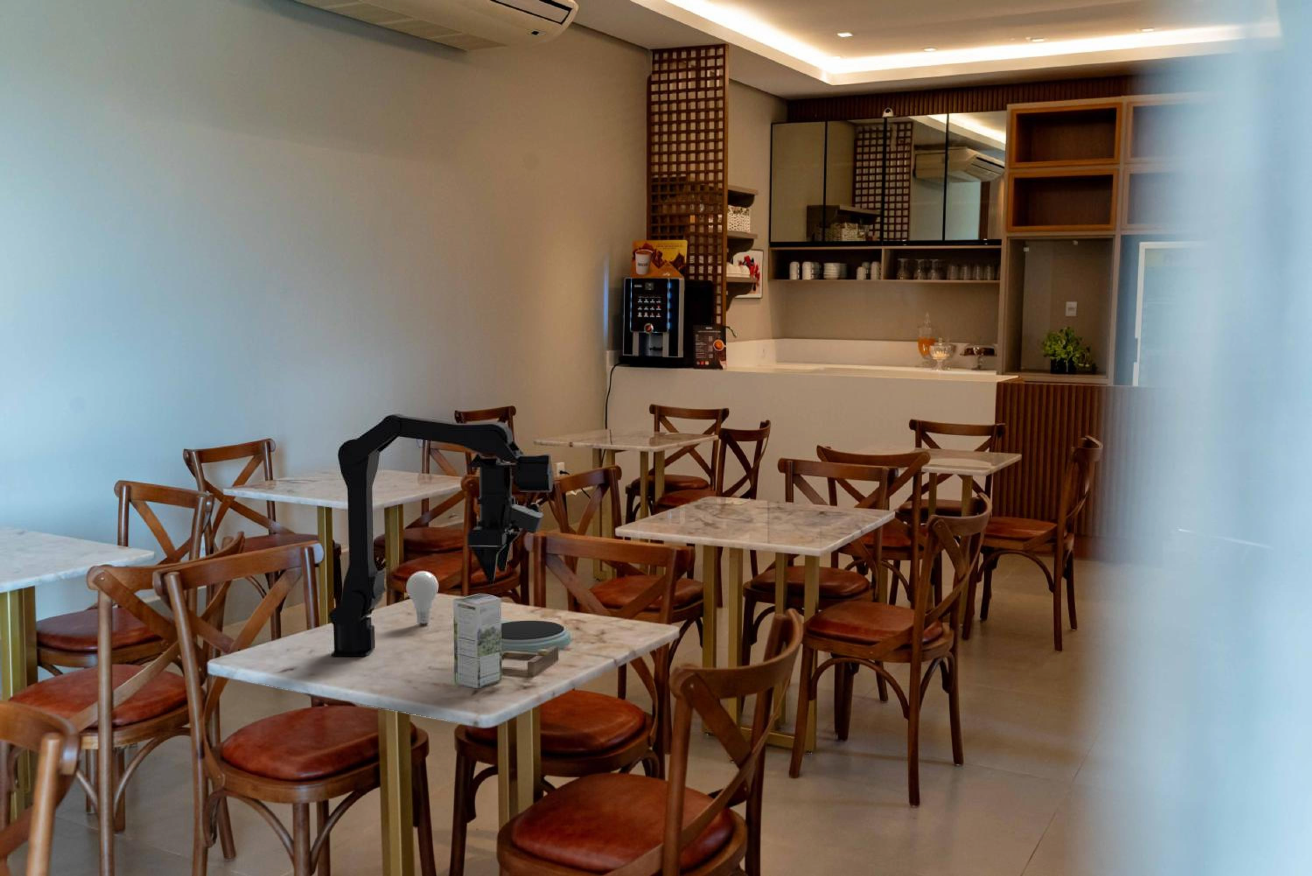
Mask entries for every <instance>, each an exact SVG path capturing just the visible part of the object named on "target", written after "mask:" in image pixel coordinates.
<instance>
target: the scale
mask: <svg viewBox="0 0 1312 876" xmlns="http://www.w3.org/2000/svg"><path fill="white" fill-rule="evenodd" d="M570 643H571V644H572V637H571V634H570V631H569V630H568V629H567V628H565V627H564V626H563V625H562V624H559V623H557V622H554V621H548V620H547V621H546V620H501V652H503V651H517V652H530V653H538V650H540V649H548V648H550V647H551V646H558V651H560V650H563V649H565V648H567V647H569V646H570V645H571V644H570ZM569 644H570V645H569ZM568 645H569V646H568ZM566 646H567V647H566ZM564 647H565V648H564ZM562 648H563V649H562ZM559 649H560V650H559Z"/></svg>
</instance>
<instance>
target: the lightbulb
mask: <svg viewBox="0 0 1312 876" xmlns="http://www.w3.org/2000/svg"><path fill="white" fill-rule="evenodd" d="M438 591H439V581H438V580H437V577H436V576H435V575H434V574H433V573H431V572H430V571H426V570H419V571H416V572H415V573H412V574H411V575H410V577H409V578H408V579H407V581H406V593H407V594H408V597H409V598H410V600H411V601H412V603H413V606H414V609H415V611H416V623H417V624H419V625H421V626H426V625H427V624H429V623H430V622H431V614H430V613H431V609H432V606H433V605H432V603H433V601H434V599H435V598H436V595H438Z"/></svg>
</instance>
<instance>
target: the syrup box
mask: <svg viewBox="0 0 1312 876" xmlns="http://www.w3.org/2000/svg"><path fill="white" fill-rule="evenodd" d="M452 601H453V602H452V603H453V664H454V667H453V669H454V670H453V673H454V677H453V678H454V683H455V684H456V685H461V686H464V687H470V688H474V689H481V688H483V687H486V686H489V685H493V684H495V683H496V684H497V683H499V682H501V681H503V679H502V678H503V674H502V662H503V660H502V654H501V621H502V598H501V597H498V596H495V595H492V594H487V593H475V594H471V595H467V596H463V597H459V598H455V599H453V600H452Z"/></svg>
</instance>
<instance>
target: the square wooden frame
mask: <svg viewBox="0 0 1312 876" xmlns="http://www.w3.org/2000/svg"><path fill="white" fill-rule="evenodd" d="M501 654H502V661H503V660H506V658H508V659H509V658H510V659H518V660H528V661H527V664H526V665H527V668H525V667H524V668H523V667H513V666H502V675H509V676H510V675H512V676H521V677H523V676H524V677H536V676H537V675H538V674H540V673H542V672H543V671H545V670H546V669H548V668H549V667H551V666H552V665H554V664H555V663H556V661H557V662H558V661H559V650H558V646H551V647H550V648H548V649H540V650H538V653H530V652H517V651H503V652H501ZM553 663H554V664H553Z"/></svg>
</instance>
